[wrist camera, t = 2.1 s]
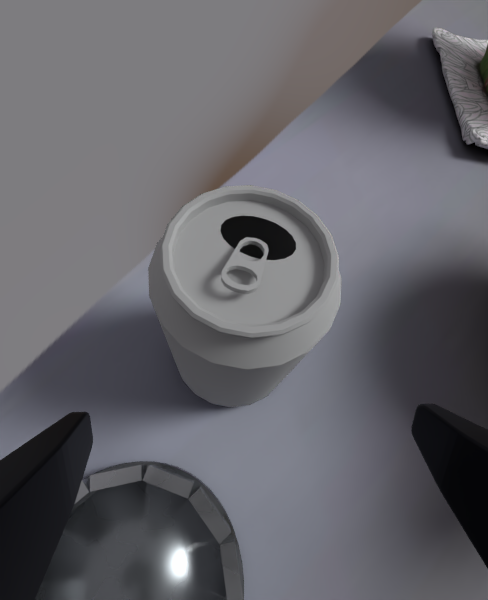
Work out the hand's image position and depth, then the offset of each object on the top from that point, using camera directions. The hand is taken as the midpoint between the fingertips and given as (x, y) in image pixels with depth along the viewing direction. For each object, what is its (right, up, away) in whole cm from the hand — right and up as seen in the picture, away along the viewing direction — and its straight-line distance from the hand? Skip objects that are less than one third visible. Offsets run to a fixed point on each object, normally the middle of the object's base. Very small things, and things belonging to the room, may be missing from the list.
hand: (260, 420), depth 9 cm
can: (-1, 0, +13) cm, 13 cm away
